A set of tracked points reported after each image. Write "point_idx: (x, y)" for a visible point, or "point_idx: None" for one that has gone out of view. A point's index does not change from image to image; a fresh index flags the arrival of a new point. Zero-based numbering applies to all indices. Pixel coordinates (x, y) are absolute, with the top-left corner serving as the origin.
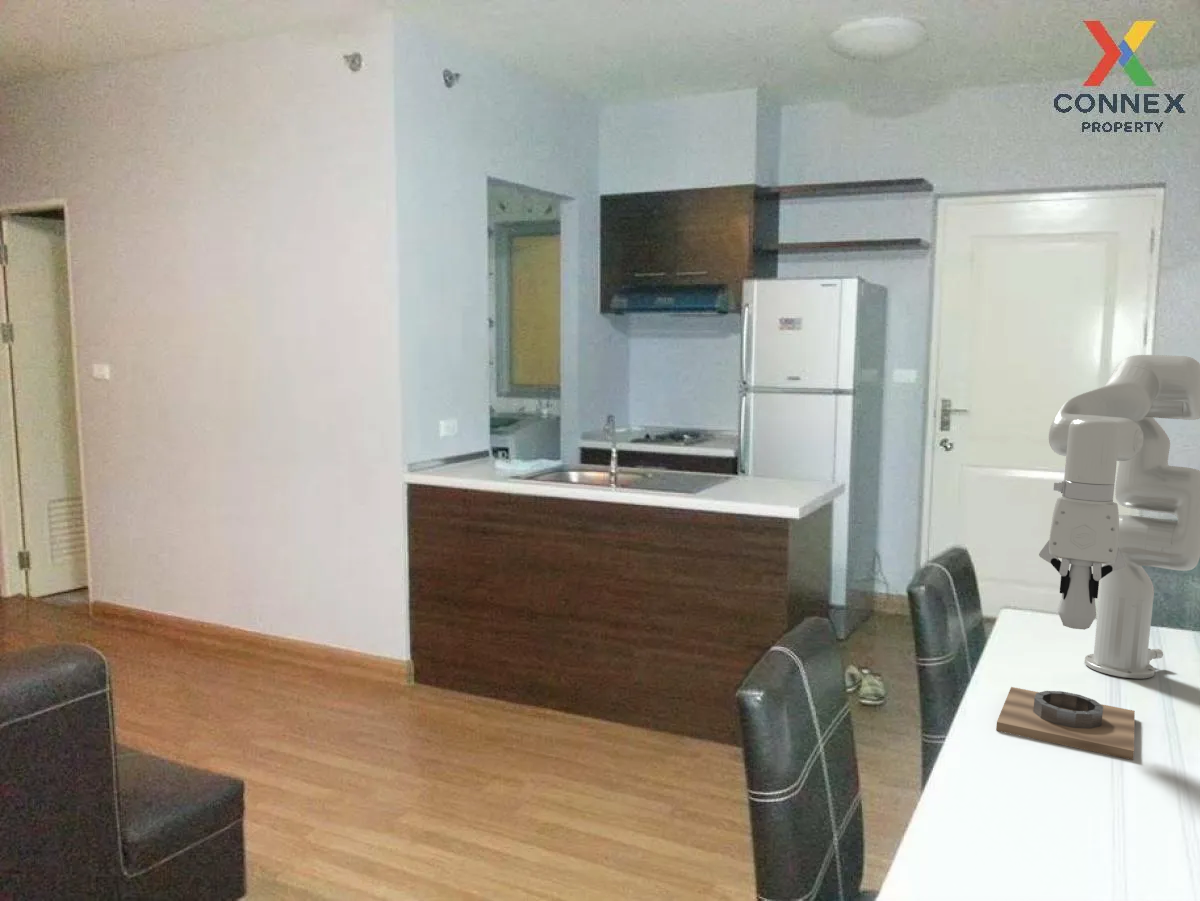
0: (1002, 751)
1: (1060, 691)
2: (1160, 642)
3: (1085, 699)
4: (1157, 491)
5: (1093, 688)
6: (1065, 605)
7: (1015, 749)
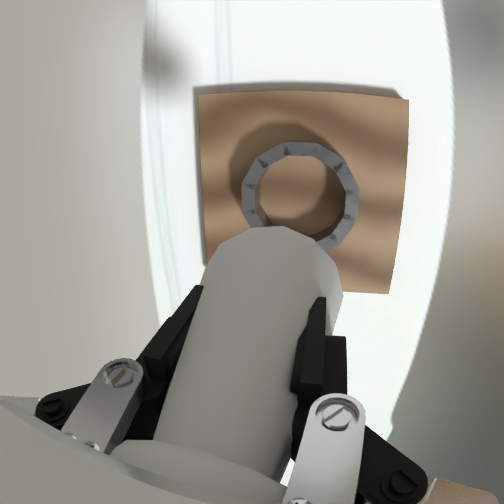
0: (381, 21)
1: None
2: None
3: None
4: None
5: None
6: (315, 269)
7: (366, 37)
